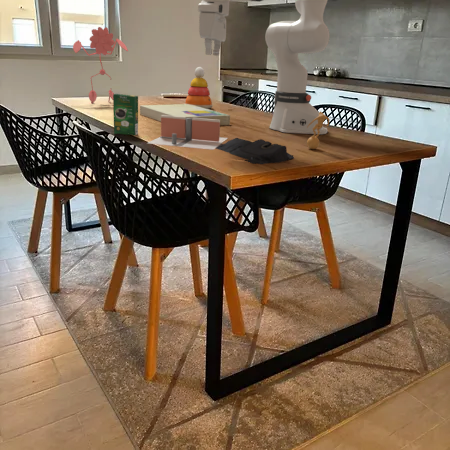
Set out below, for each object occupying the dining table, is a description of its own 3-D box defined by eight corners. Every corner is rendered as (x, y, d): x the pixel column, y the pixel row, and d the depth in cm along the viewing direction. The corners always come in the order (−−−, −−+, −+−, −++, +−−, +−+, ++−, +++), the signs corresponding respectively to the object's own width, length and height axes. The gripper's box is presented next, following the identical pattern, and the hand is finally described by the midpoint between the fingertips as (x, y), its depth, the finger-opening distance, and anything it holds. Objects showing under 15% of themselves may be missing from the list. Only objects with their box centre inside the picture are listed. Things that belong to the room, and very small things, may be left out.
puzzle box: (187, 114, 212) (139, 115, 200) (188, 103, 210) (139, 104, 198) (230, 126, 184) (176, 129, 171) (231, 115, 182) (176, 116, 170)
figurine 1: (73, 102, 225) (69, 24, 212) (123, 101, 239) (121, 28, 226) (84, 107, 213) (80, 25, 200) (135, 105, 228) (135, 29, 214)
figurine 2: (318, 147, 150) (323, 109, 145) (330, 150, 145) (335, 112, 140) (298, 148, 146) (302, 110, 141) (310, 152, 141) (314, 112, 136)
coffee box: (139, 135, 154) (138, 95, 149) (135, 136, 151) (134, 95, 146) (117, 133, 156) (116, 93, 151) (113, 134, 153) (111, 94, 148)
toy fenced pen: (227, 139, 154) (228, 129, 153) (213, 151, 136) (213, 139, 135) (168, 134, 158) (168, 123, 157) (146, 144, 140) (146, 133, 139)
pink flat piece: (192, 139, 149) (193, 117, 146) (190, 140, 147) (191, 118, 144) (162, 136, 151) (162, 114, 148) (160, 137, 149) (160, 115, 146)
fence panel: (219, 140, 147) (220, 119, 144) (218, 141, 145) (219, 120, 143) (192, 138, 148) (193, 117, 146) (191, 139, 147) (192, 118, 145)
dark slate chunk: (248, 146, 147) (249, 132, 146) (298, 161, 131) (299, 144, 130) (210, 151, 139) (210, 135, 137) (258, 167, 122) (259, 149, 121)
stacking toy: (209, 111, 220) (211, 68, 213) (181, 109, 222) (181, 66, 215) (215, 107, 233) (216, 67, 226) (187, 105, 235) (188, 65, 228)
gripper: (214, 12, 156) (211, 55, 160) (196, 4, 137) (194, 53, 142) (232, 13, 154) (229, 56, 159) (216, 5, 136) (213, 55, 140)
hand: (212, 55), depth 150 cm, fingers open, 8 cm apart
